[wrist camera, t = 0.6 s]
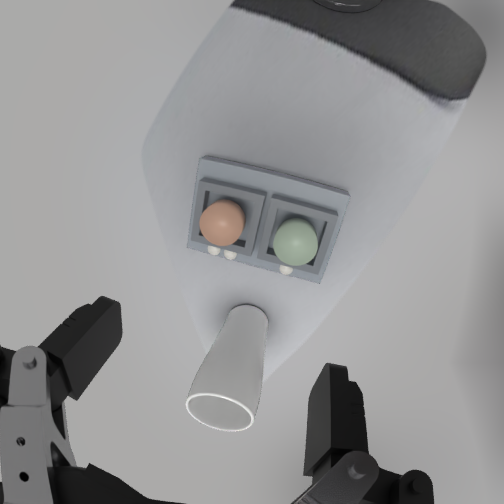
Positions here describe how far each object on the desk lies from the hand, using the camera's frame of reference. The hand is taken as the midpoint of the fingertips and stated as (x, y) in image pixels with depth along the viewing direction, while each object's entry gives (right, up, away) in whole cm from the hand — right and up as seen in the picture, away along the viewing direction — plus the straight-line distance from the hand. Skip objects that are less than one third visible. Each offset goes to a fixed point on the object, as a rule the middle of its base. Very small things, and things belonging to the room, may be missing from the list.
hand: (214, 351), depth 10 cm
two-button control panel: (+3, +7, +21) cm, 22 cm away
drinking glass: (+1, -5, +27) cm, 28 cm away
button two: (-1, +7, +18) cm, 19 cm away
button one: (+6, +5, +18) cm, 19 cm away
